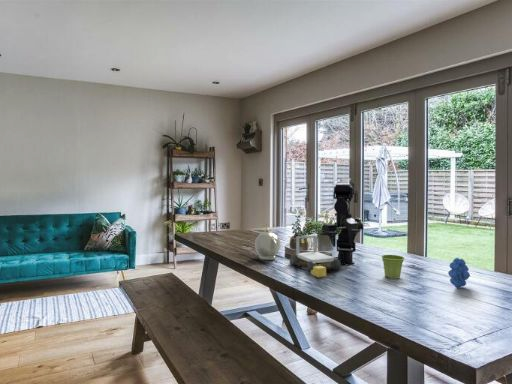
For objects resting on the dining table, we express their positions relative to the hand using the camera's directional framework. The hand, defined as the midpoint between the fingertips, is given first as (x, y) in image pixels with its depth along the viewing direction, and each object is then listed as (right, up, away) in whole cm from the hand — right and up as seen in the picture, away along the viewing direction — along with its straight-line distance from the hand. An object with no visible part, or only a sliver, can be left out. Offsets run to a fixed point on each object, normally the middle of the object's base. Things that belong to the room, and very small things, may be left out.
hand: (342, 246), depth 167 cm
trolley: (-11, -12, +11) cm, 19 cm away
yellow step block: (-12, -13, -4) cm, 17 cm away
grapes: (+39, -13, -25) cm, 48 cm away
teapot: (-32, -11, +28) cm, 44 cm away
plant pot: (+20, -12, -7) cm, 24 cm away
